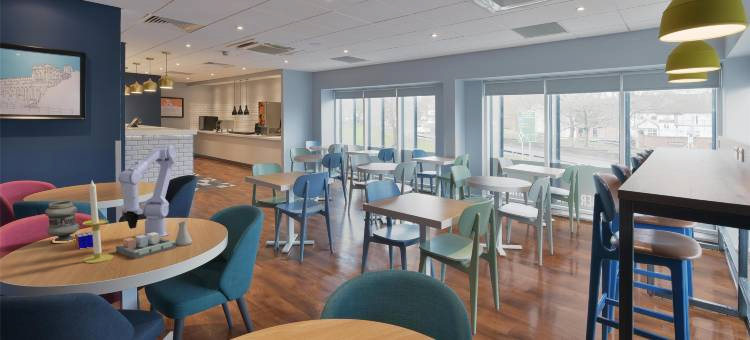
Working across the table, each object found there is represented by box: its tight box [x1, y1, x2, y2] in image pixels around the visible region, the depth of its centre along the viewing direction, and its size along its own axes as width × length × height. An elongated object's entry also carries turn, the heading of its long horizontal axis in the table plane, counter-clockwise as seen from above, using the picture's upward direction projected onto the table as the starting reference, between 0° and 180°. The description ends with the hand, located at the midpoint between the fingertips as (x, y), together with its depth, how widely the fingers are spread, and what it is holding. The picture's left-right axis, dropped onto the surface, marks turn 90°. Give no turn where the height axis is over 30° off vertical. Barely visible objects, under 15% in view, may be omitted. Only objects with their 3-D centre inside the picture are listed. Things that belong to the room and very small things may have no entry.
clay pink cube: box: [122, 237, 136, 249], centre depth 172 cm, size 4×3×4 cm
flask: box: [174, 221, 193, 246], centre depth 183 cm, size 7×7×10 cm
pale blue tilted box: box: [134, 234, 148, 246], centre depth 176 cm, size 4×3×4 cm
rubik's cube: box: [74, 231, 94, 250], centre depth 178 cm, size 6×6×6 cm
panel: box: [115, 237, 177, 260], centre depth 175 cm, size 16×17×3 cm
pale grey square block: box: [147, 232, 160, 243], centre depth 180 cm, size 4×3×4 cm
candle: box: [82, 180, 114, 264], centre depth 161 cm, size 10×10×32 cm
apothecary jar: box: [44, 200, 81, 241], centre depth 185 cm, size 12×12×18 cm
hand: (132, 228), depth 180 cm, fingers closed
